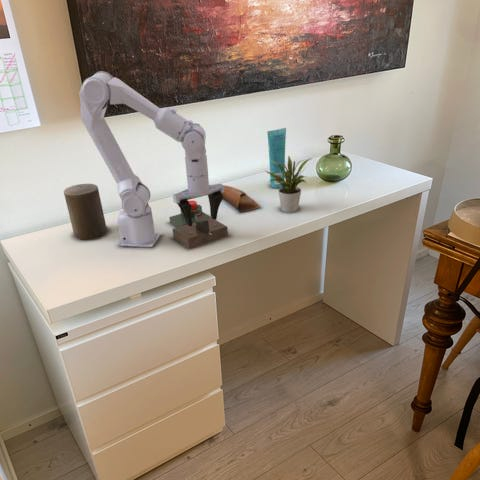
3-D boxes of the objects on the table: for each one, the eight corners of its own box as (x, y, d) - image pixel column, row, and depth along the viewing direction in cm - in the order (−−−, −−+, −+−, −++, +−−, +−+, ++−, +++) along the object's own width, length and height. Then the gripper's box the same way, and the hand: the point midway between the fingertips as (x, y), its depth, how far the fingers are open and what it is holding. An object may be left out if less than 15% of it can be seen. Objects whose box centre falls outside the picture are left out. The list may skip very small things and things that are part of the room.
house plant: (295, 196, 167) (296, 146, 158) (323, 208, 157) (325, 156, 148) (260, 206, 161) (259, 155, 152) (287, 220, 151) (287, 166, 142)
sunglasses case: (262, 206, 160) (252, 190, 155) (245, 220, 160) (235, 206, 155) (237, 189, 173) (227, 175, 169) (222, 203, 173) (211, 189, 169)
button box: (182, 231, 148) (181, 218, 146) (168, 222, 154) (167, 210, 152) (211, 222, 152) (210, 210, 150) (196, 214, 158) (195, 202, 156)
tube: (280, 181, 180) (280, 126, 169) (289, 185, 177) (290, 128, 166) (264, 186, 176) (263, 130, 165) (273, 190, 173) (273, 132, 162)
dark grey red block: (209, 231, 139) (208, 219, 137) (204, 233, 139) (203, 220, 137) (200, 225, 143) (199, 212, 141) (195, 226, 143) (194, 214, 141)
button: (188, 212, 150) (188, 205, 149) (183, 208, 153) (182, 202, 152) (199, 209, 152) (198, 202, 151) (193, 205, 155) (192, 199, 153)
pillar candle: (99, 240, 145) (88, 190, 136) (68, 239, 147) (55, 190, 138) (112, 227, 153) (102, 178, 144) (82, 226, 154) (71, 178, 146)
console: (192, 251, 137) (191, 240, 135) (173, 238, 144) (172, 228, 142) (231, 238, 142) (231, 227, 141) (211, 226, 150) (210, 216, 148)
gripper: (214, 164, 138) (218, 211, 146) (166, 175, 132) (172, 223, 140) (226, 171, 133) (229, 219, 140) (176, 182, 127) (182, 231, 135)
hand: (201, 221), depth 140 cm, fingers open, 7 cm apart
